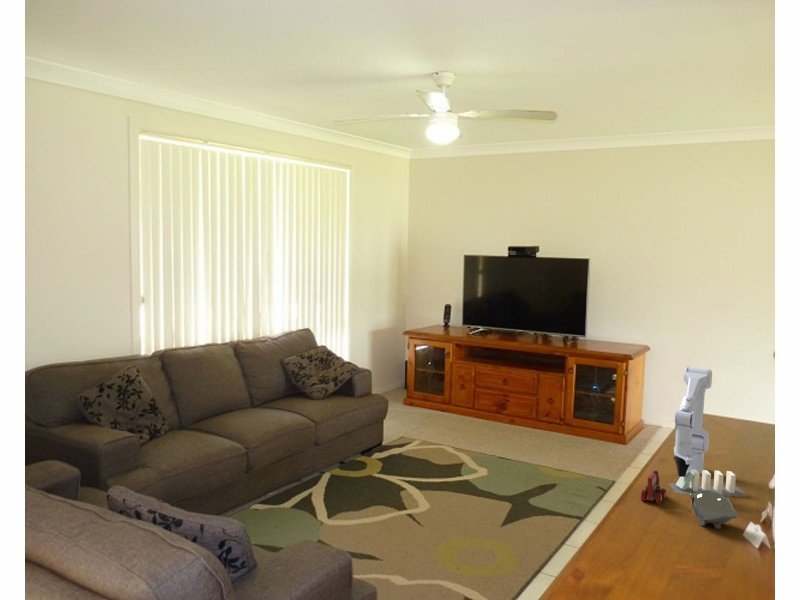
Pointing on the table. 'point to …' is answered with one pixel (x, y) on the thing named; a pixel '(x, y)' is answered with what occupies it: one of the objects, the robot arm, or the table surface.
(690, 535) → the table surface
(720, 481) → the tile
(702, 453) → the robot arm
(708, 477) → the tile
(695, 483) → the tile
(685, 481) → the pale green tile
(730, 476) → the tile
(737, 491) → the runner mat
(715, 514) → the piggy bank
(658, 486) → the toy fire truck
